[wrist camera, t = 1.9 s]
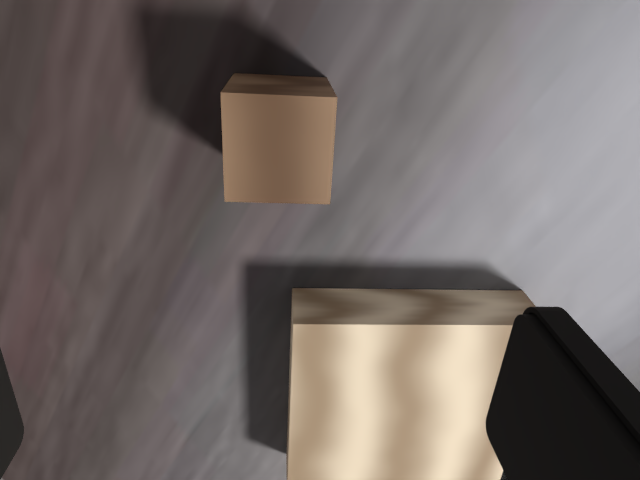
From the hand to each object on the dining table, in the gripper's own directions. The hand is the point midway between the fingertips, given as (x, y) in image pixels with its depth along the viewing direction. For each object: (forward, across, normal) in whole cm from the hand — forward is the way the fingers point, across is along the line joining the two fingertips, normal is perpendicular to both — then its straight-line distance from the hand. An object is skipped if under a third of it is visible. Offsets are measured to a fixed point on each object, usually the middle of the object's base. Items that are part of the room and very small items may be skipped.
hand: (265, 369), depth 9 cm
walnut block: (+20, 0, 0) cm, 20 cm away
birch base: (+20, -9, +19) cm, 29 cm away
